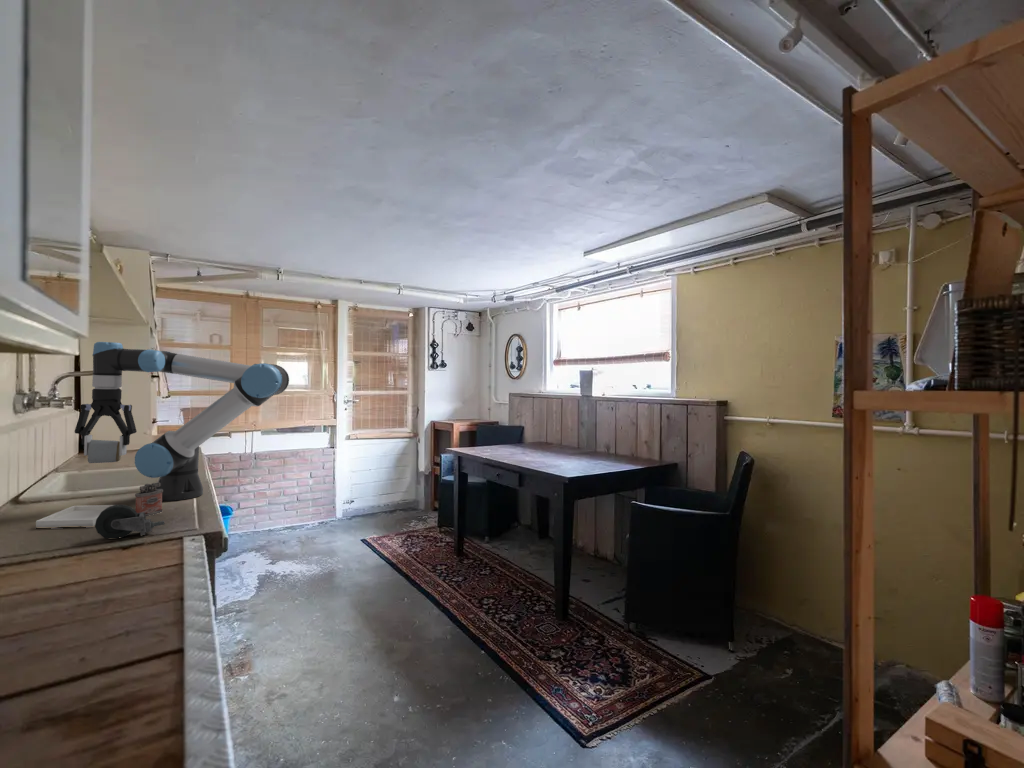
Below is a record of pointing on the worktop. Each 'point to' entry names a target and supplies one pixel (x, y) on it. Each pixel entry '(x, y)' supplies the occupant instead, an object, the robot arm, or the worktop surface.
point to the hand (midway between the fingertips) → (105, 454)
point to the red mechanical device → (149, 499)
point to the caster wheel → (123, 522)
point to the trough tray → (73, 516)
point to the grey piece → (103, 451)
